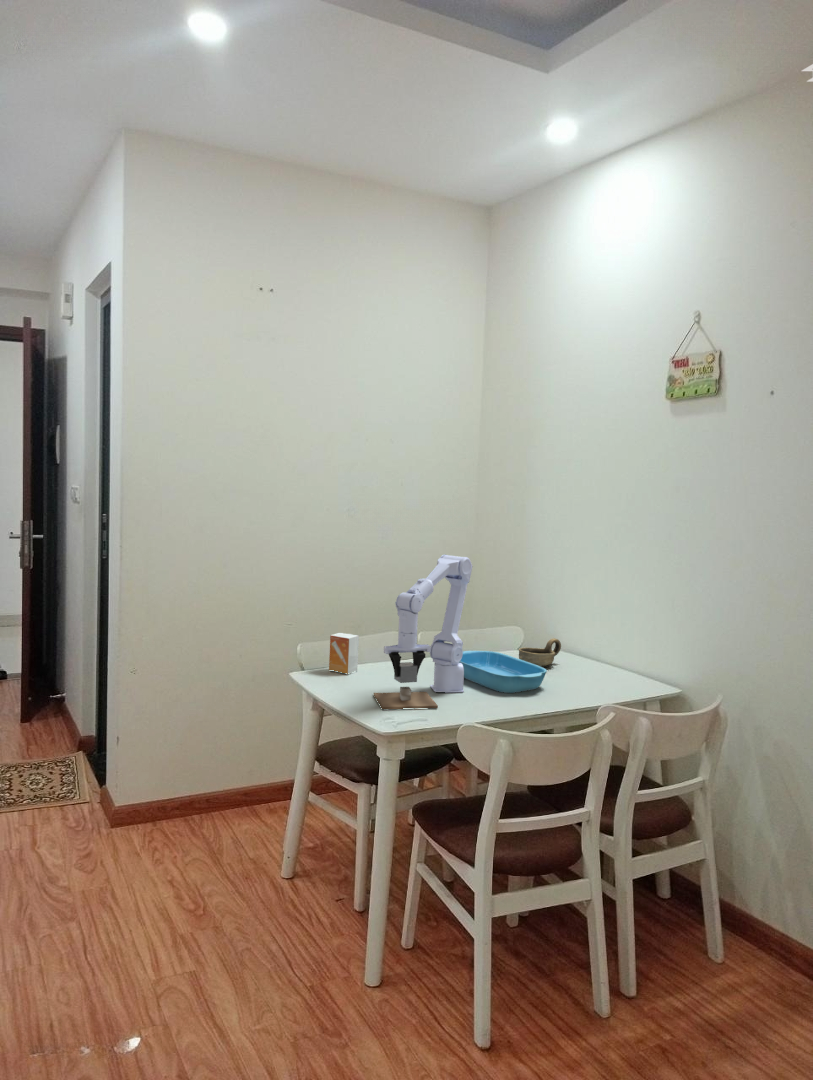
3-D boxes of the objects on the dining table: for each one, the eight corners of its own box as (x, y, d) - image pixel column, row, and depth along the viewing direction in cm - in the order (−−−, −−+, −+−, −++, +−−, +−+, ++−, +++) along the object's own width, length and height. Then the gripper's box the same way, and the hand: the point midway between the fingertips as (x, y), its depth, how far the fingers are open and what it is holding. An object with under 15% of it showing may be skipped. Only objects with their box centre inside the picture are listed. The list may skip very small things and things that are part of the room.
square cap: (410, 677, 252) (410, 662, 252) (416, 681, 247) (417, 665, 247) (394, 678, 250) (394, 662, 250) (400, 683, 245) (400, 666, 245)
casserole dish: (558, 691, 269) (559, 670, 269) (507, 700, 257) (508, 677, 256) (487, 666, 300) (488, 647, 299) (439, 673, 287) (439, 653, 287)
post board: (426, 694, 258) (426, 681, 258) (437, 708, 243) (438, 694, 243) (373, 695, 254) (374, 681, 254) (382, 710, 240) (382, 695, 239)
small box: (328, 671, 282) (329, 634, 281) (338, 668, 288) (340, 632, 286) (347, 675, 278) (349, 638, 277) (357, 671, 284) (359, 635, 283)
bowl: (510, 662, 306) (511, 636, 306) (548, 659, 314) (550, 634, 313) (529, 671, 294) (531, 644, 293) (569, 668, 301) (571, 642, 300)
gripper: (424, 628, 253) (422, 671, 255) (381, 630, 248) (379, 673, 249) (433, 633, 247) (431, 676, 248) (388, 634, 241) (387, 679, 243)
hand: (406, 675), depth 248 cm, fingers closed on square cap, 5 cm apart
